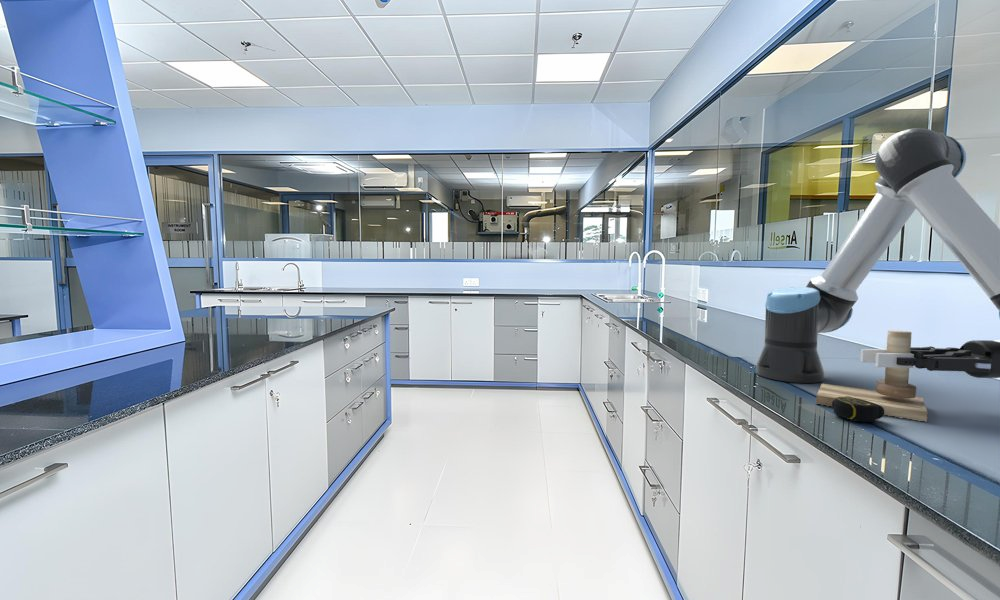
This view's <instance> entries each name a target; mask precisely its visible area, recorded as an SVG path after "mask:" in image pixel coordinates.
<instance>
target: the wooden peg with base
mask: <svg viewBox="0 0 1000 600" xmlns="http://www.w3.org/2000/svg"><path fill="white" fill-rule="evenodd" d="M911 347H912V332H911V331H907V330H895V329H894V330H892V329H891V330H887V338H886V349H887V352H886V353H910V350H911ZM884 368H885V372H884V373H885V374H884V380H878V381H876V391H877V393H879V394H882V395H886V396H891V397H897V398H915V397H916V396H917V386H916V385H914V384H910V383H909V379H910V368H905V367H884Z"/></svg>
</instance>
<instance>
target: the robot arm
mask: <svg viewBox="0 0 1000 600" xmlns="http://www.w3.org/2000/svg"><path fill="white" fill-rule="evenodd" d="M874 160H875V161H874V165H875V168H876V169H875V170H876V171H877V173H878V175H879V176H878V178H877V179H876V181H875V182H874V186H875V189H876V193H875V195H874V197H873V198H872V200H871V201H870V203H869V204H868V205H867V207H866V209H864V211H863V213H862V214H861V216H860V217H859V218H858V220H857V222H856V223H855V225H853V227H852V229H851V231H850V232H849V233H848V235H847V237H846V238H845V240H843V242H842V244H841V245H840V247H839V248H838V249H837V251H836V252H835V254H834V256H833V257H832V258H831V260H830V261H829V263H828V265H827V266H826V268H825V269H824V271H823V272H822V273H821V275H820V276H816V277H812V278H811V279H810V280H809V281H808V283H807V285H806V286H805V287H803V286H795V287H793V286H792V287H789V286H788V287H786V288H785V287H780V288H776V289H772V290H771V291H769V292H767V294H766V302H765V322H764V325H765V327H764V346H763V349H762V351H761V353H760V356H759V358H758V360H757V363H756V366H755V373H756V374H757V375H758V376H760V377H763V378H766V379H770V380H775V381H780V382H785V383H786V382H787V383H797V384H817V383H821V382H823V381H824V380H825V371H824V366H823V365H822V361H821V358H820V355H819V353H818V336H819V335H818V334H825V333H831V332H834V331H837V330H839V329H841V328H843V327H844V326H845V325H847V324H848V322H850V319H851V318H852V316H853V313H854V312H853V311H854V309H853V307H854V305H855V304H856V302H857V301H858V300H859V296H858V294H857V290H858V289H859V287H860V285H862V283H863V282H864V280H865V279H866V278H867V276H868V275H869V273H870V272H871V271H872V269H873V268H874V266H875V265H876V264H877V262H878V261H879V260H880V258H881V257H882V256H883V254H884V253H885V252H886V250H887V249H888V248H889V246H890V244H891V243H892V242H893V241H894V239H895V238H896V237H897V235H898V234H899V233H900V231H901V230H902V228H903V227H904V226H905V224H906V223H907V221H908V220H909V219H910V217H911V216H912V215H913V214H914V212H915V211H918V213H920V215H921V216H922V217H923V219H924V220H925V221H926V222H927V224H928V225H929V226H930V227H931V228H932V229H933V231H934V232H935V233H936V234H937V236H938V237H939V238H940V240H941V241H942V242H943V244H945V246H946V247H947V248H948V249H949V250H950V252H951V253H952V254H953V255H954V257H955V258H956V259H957V261H959V263H960V264H961V266H963V268H964V269H965V270H966V271H967V273H968V274H969V275H970V276H971V278H972V279H973V280H974V281H975V282H976V284H977V285H978V286H979V288H980V289H981V290H982V291H983V292H984V293H985V294H986V296H987V297H988V298H989V300H990V301H991V302H992V303H993V305H994V307H996V309H997V310H998V317H999V319H1000V228H999V226H998V225H997V224H996V223H995V222H994V221H993V219H991V217H990V216H989V215H988V214H987V213H986V212H985V210H984V209H982V207H981V206H980V205H979V204H978V203H977V201H976V200H975V199H974V198H973V197H972V196H971V194H970V193H969V192H968V191H967V190H966V189H965V188H964V187H963V186H962V185H961V184H960V182H959V181H958V180H957V179H956V178H957V177H958V176H959V175H960V174H961V172H962V171H963V169H964V167H965V165H966V161H967V153H966V151H965V148H964V147H963V145H962V144H961V143H960V142H959V141H958V140H957V139H955V138H954V137H952V136H948V135H946V134H942V133H940V132H937V131H935V130H931V129H928V128H925V127H921V128H920V127H913V128H908V129H904V130H901V131H898V132H897V133H894V134H893V135H891V136H889V138H887V139H886V140H885V141H884V142H883V143H882V144H881V145H880V146H879V148H878V150H877V152H876V155H875V159H874ZM886 352H887V348H885V349H884V348H883V349H882V348H881V349H880V348H876V349H873V348H872V349H871V348H862V349H860V357H859V358H860V359H859V361H860V363H873V364H875V367H876V368H886V367H905V368H909V369H910V368H912V369H913V368H914V367H915V368H916V369H920V370H921V369H926V371H931V372H934V371H937V372H938V371H939V372H965V374H967V375H968V376H970V377H974V378H977V379H978V378H979V379H999V378H1000V340H999V339H997V340H996V339H995V340H994V339H993V340H989V339H988V340H985V339H984V340H983V339H981V340H978V339H976V340H973V339H972V340H969V341H966V342H964V343H963V344H962V345H961V347H960V348H959V347H945V348H943V347H937V348H936V347H934V346H923V347H917V346H916V347H913V346H911V350H910V353H886Z"/></svg>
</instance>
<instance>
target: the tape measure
mask: <svg viewBox="0 0 1000 600" xmlns="http://www.w3.org/2000/svg"><path fill="white" fill-rule="evenodd" d="M831 408H832V409H833V413H834V414H835V415H837V416H839V417H841V418H844V419H845V418H847V419H846V420H848V419H851V420H850V421H852V420H855V421H854V422H867V423H868V422H869V423H870V422H874V421H877V420H879V419H883V417H885V416H884V408H883V407H882V406H880V405H877V404H875V403H872V402H869V401H865V400H861V399H857V398H853V397H849V396H846V397H837V398H835V400H834V401H833V402H832V407H831Z"/></svg>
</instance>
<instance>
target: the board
mask: <svg viewBox="0 0 1000 600" xmlns="http://www.w3.org/2000/svg"><path fill="white" fill-rule="evenodd" d="M846 396H849V397H853V398H857V399H861V400H865V401H869V402H872V403H875V404H877V405H880V406H882V407H883V408H884V415H888V416H887V417H890V416H895V417H894V418H896V417H902V418H907V419H906V420H908V419H914V420H919V421H918V422H920V421H925V422H924V423H928V409H927V407H926V404H925V401H924V398H923V397H922V396H917V395H916V397H915V398H897V397H891V396H886V395H882V394H879V393H877V390H872V389H867V388H866V389H865V388H857V387H851V386H844V385H836V384H829V383H821V385H820V387H819V389H818V392H817V393H816V401H815V404H816V405H817V404H821V405H820V406H823V405H826V406H825V407H829V406H831V408H832V402H833V401H834V400H835V398H837V397H846ZM902 418H901V419H902ZM914 420H913V421H914Z"/></svg>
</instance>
